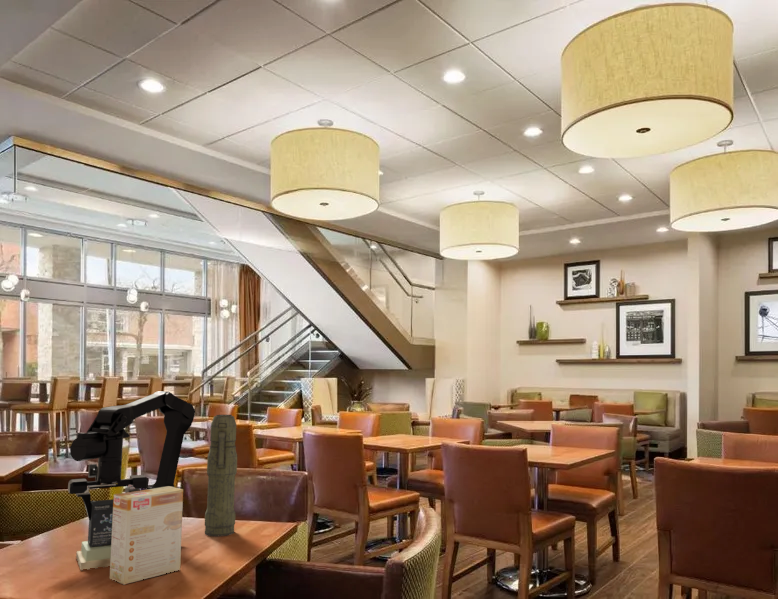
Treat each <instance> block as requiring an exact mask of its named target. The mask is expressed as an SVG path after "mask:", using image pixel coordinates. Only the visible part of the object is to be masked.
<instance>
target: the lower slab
mask: <svg viewBox="0 0 778 599" xmlns="http://www.w3.org/2000/svg"><path fill="white" fill-rule="evenodd" d="M75 554H76V556H75V559H76V558H77V559H76V561H78V562H77V564H78V567H79V570H80V571H84V570H83V569H87V570H91V569H90V568H95V569H99V568H98V567H103V568H108V566H110V560H111V558H109V559H101V560H93V561H86V560H85V558H84V556H83V554H82V552H81V550H77V551H76V553H75Z"/></svg>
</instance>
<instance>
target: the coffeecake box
mask: <svg viewBox="0 0 778 599" xmlns="http://www.w3.org/2000/svg"><path fill="white" fill-rule="evenodd" d="M146 489H147V488H146ZM146 489H140V491H134V492H127V493H125V492H123V493H115V494H113V498H112V499H113V519H112V540H111V560H110V567H109V580H111V579H112V580H111V581H113V580H115V581H114V582H116V581H117V583H119V584H122V585H123V586H124V585H127V584H132V583H136V582H139V581H143V579H144V580H147V579H150V578H155V577H158V576H162V575H165V574H166V573H167V574H170V572H171V573H173V572H174V571H175V572H177V571H178V570H179V571H181V559H182V558H181V557H182V556H181V555H182V532H183V529H182V528H183V514H182V511H183V506H184V505H183V504H184V503H183V502H184V489H183V488H179V487H175V486H174V487H171V486H167V487H160V488H154V489H147V490H146ZM167 574H166V575H167Z"/></svg>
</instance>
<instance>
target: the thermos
mask: <svg viewBox="0 0 778 599" xmlns="http://www.w3.org/2000/svg"><path fill="white" fill-rule="evenodd" d="M236 439H237V422H236V419H235V416H234V415H232V414H216V415H214V416H213V418H212V421H211V423H210V440H209V441H210V445H209V452H208V453H207V461H206V463H207V464H206V473H207V477H208V478H207V484H208V485H207V500H206V501H207V504H206V505H207V506H206V511H205V513H204V535H205V536H209V537H227V536H230V535H233V534H234V533H235V524H236V511H235V486H236V485H235V484H236V483H235V482H236V474H237V472H238V454H237V450H236V448H237V447H236Z"/></svg>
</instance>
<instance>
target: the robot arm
mask: <svg viewBox="0 0 778 599" xmlns="http://www.w3.org/2000/svg"><path fill="white" fill-rule="evenodd" d="M157 410H158V411H159V413H161V414H162V415H163V424H164V427H165V431H166V434H165V438H164V443H163V448H162V451H161V456H160V461H159V465H158V469H157V475H156V480H155V482H154V483H153V484H152V486H149V478H147V476H145V475H144V474H134V475H133V474H132V475H129V478H123V479H122V467H123V466H122V463H123V447H124V446H123V444H124V439H126V438H127V439H128V438H130V437H131V435H130V434H129V433H128V432H127V431H126V430H125V429H126V428H128V427H129V426H130V425H131V424H133V422H134V420H136V419H138V418H140V417H142V416H144V415H146V414H149V413H151V412H154V411H157ZM195 416H196V409H195V407H194V405H193V404H192V403H191V402H187V401H186V400H184V399H182V398H180V397H177V396H176V395H175V394H173V393H172V392H170V391H164V390H163V391H156V392H154V393H153V394H149V395H147V396H144V397H142V398H140V399H137V400H135V401H131V402H130V403H127V404H123V405H111V406H106V407H102V408H100V409H99V410H98V412H97V414H96V416H95V418H94V420H93V421H92V422H91V425H90V426H89V427H88V430H87V431H86V432H77V434H76V438H75V439H73V441H72V443H71V444H70V447H69V454H70V457H71V458H72V459H73V460H74V461H76V462H82V461H89V460H90V461H91V460H97V463H90V464H89V465H88V471H87V472H88V473H87V477H88V478H90V479H91V478H95V480H93V481H88V480H87V479H86V478H75V479H70V480H69V481H68V485H67V492H68V494H69V495H76V496H77V498H81V499H82V502H83V504H84V508H85V510H86V513H87V519H88V521H89V520H91V501H92V499H91V493H90V490H95V489H107V488H108V489H110V488H119V487H121V488H122V487H124V488H125V490H124V493H127V492H134V491H141V490H144V489H145V490H147V489H154V488H160V487H167V486H171V487H175V485H174V484H175V479H176V474H177V471H178V466H179V465H178V464H179V461H180V455H181V451H182V447H183V441H184V437H185V433H187V432H188V430H189V429H190V428H191V426H192V424H193V421H194V418H195ZM183 514H184V512H183V510H182V515H183Z"/></svg>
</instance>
